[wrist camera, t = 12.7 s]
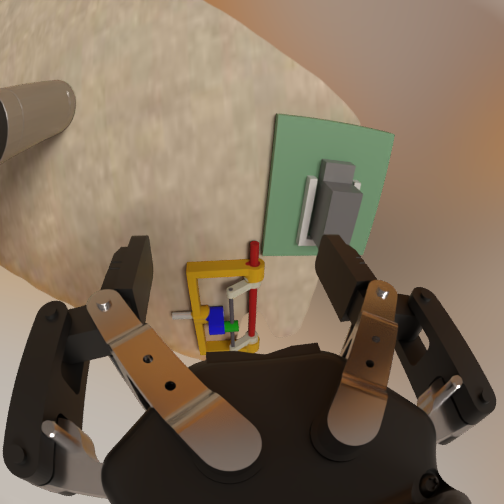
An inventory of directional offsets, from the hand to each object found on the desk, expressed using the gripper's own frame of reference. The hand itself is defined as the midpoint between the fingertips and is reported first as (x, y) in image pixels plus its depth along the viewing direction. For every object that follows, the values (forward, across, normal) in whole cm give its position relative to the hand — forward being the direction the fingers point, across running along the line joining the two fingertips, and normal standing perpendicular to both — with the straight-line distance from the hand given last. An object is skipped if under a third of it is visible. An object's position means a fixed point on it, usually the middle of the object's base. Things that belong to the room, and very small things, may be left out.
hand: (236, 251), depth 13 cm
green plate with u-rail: (+30, -19, +9) cm, 37 cm away
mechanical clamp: (+31, -1, +34) cm, 46 cm away
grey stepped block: (+29, -19, +9) cm, 36 cm away
